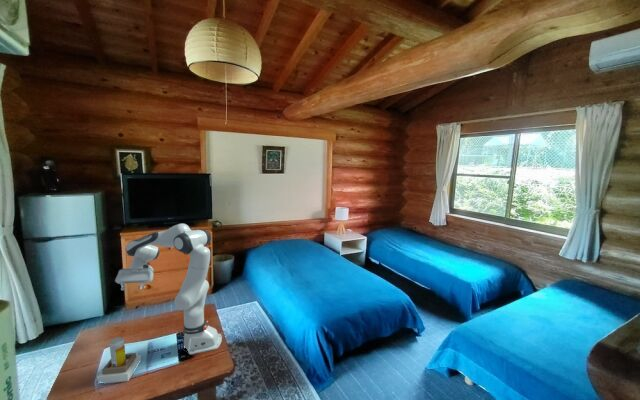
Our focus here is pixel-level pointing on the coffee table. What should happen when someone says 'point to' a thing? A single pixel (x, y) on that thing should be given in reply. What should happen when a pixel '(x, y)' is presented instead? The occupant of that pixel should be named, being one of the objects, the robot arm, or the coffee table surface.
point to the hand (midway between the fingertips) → (131, 289)
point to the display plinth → (119, 370)
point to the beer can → (117, 352)
